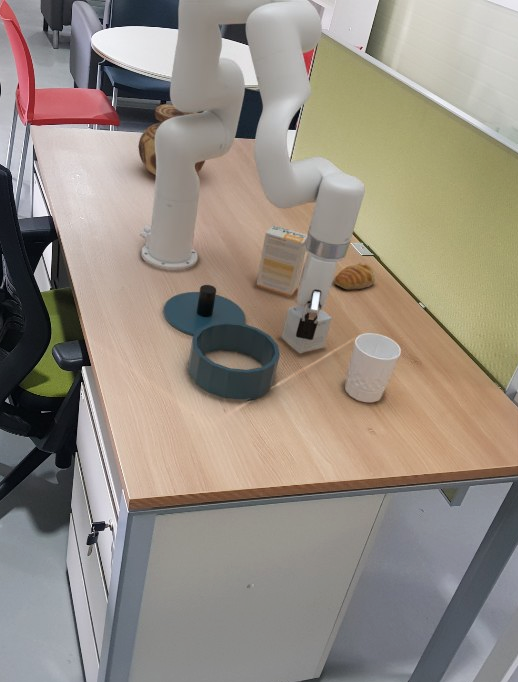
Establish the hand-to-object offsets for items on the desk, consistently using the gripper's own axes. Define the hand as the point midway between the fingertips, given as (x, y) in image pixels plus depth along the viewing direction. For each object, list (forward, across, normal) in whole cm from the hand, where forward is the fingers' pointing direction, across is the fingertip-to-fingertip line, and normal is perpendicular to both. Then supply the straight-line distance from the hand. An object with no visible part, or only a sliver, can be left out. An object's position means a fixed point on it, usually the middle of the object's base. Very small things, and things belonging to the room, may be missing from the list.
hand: (305, 323), depth 142 cm
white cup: (+4, +12, +12) cm, 18 cm away
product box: (+5, 0, 0) cm, 5 cm away
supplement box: (+5, -20, -6) cm, 21 cm away
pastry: (+5, -29, +11) cm, 31 cm away
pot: (+4, +15, -12) cm, 20 cm away
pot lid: (+4, -2, -19) cm, 20 cm away
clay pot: (+6, -74, -39) cm, 84 cm away
